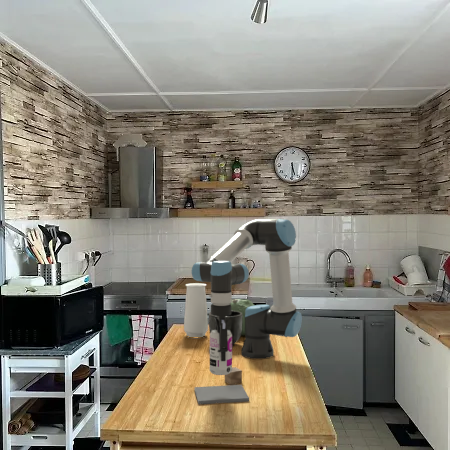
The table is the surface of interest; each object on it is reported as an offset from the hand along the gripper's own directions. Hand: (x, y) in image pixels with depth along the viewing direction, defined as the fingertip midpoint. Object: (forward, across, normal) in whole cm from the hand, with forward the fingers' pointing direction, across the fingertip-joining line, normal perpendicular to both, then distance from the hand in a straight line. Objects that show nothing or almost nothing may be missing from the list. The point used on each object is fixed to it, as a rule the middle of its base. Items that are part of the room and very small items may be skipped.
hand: (220, 365), depth 182 cm
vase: (+11, -90, 0) cm, 91 cm away
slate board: (+11, 0, 0) cm, 11 cm away
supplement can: (+2, 0, 0) cm, 2 cm away
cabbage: (+11, -89, +25) cm, 93 cm away
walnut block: (+11, -14, +7) cm, 19 cm away
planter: (+11, -70, +13) cm, 72 cm away
